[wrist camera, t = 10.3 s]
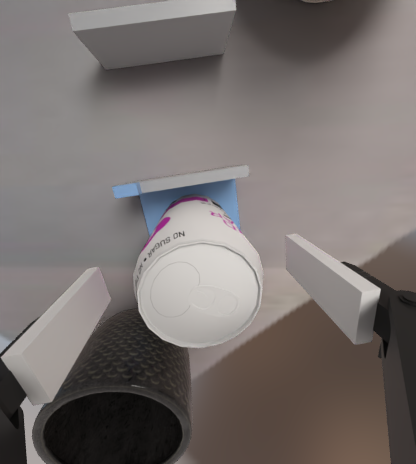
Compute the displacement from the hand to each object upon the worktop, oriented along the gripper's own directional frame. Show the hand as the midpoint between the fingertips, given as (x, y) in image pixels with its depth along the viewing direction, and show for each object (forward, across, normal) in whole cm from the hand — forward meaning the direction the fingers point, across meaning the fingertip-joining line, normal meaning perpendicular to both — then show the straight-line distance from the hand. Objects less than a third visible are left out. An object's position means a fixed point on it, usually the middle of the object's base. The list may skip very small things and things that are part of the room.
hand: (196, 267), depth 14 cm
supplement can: (+12, 0, 0) cm, 12 cm away
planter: (+12, -10, -16) cm, 22 cm away
